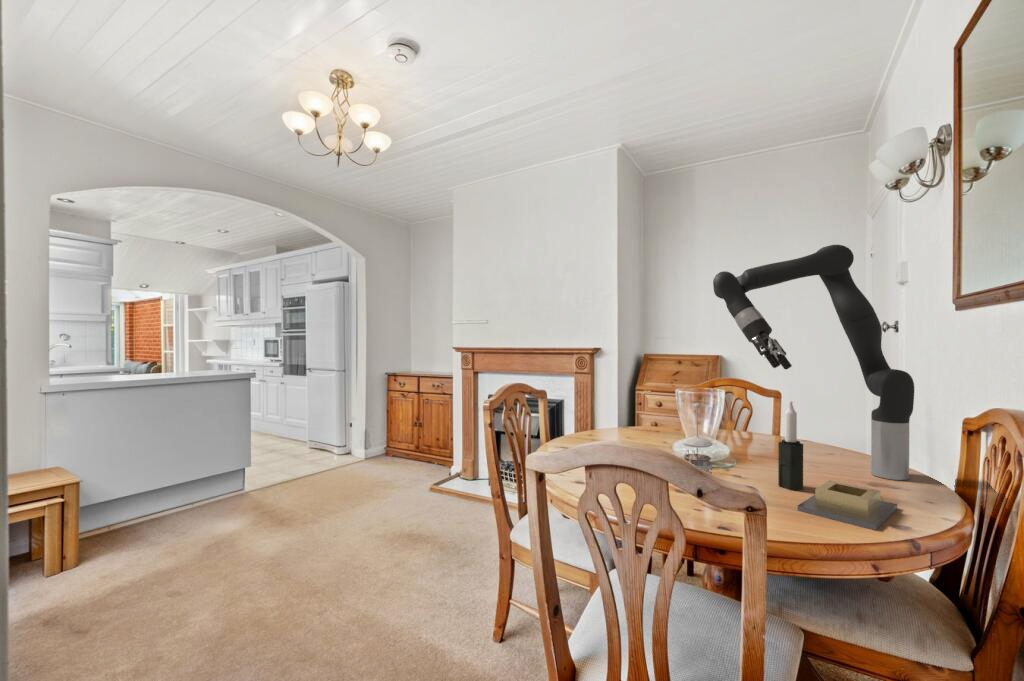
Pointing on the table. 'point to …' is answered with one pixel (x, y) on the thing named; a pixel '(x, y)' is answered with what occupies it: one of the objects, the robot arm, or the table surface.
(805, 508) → the candle plate
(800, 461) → the candle
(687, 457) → the french press
